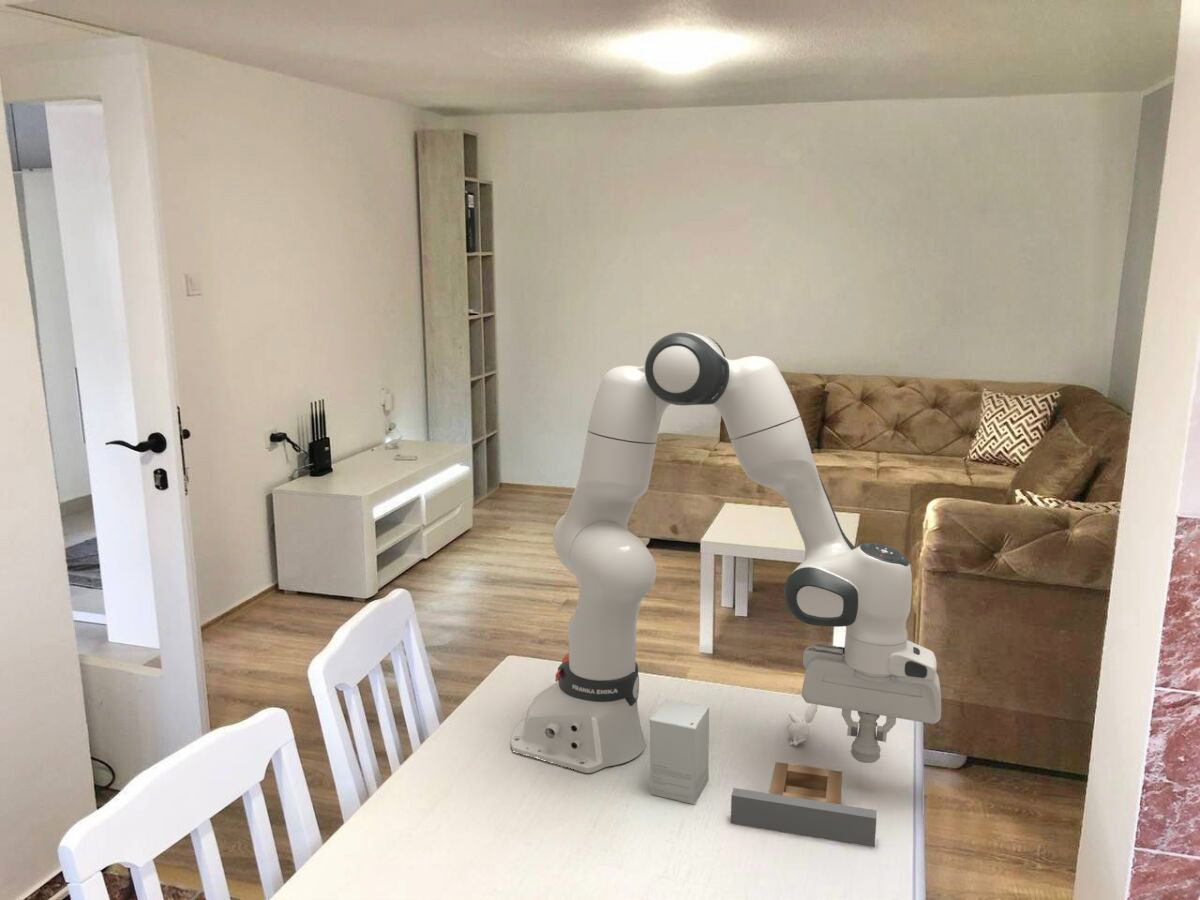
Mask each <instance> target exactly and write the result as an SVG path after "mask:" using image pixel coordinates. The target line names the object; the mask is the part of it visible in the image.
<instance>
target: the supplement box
mask: <svg viewBox="0 0 1200 900" xmlns="http://www.w3.org/2000/svg"><path fill="white" fill-rule="evenodd" d="M649 746H650V747H649V769H650V770H649V773H650V774H649V777H650V778H649V780H650V783H649V786H650V794H651V796H652V795H653V796H658V797H661V798H667V799H670V800H675V801H678V802H683V803H687V804H692V805H695V804H696V802H697V800H698V799H699V797H700V796H701V794H702V792H703V790H704V789H705V787H706V785H707V784H708V782H709V779H710V778H709V777H710V776H709V772H710V770H709V767H710V766H709V764H710V763H709V762H710V761H709V759H710V758H709V757H710V755H709V754H710V751H709V750H710V707H709V706H705V705H704V706H703V705H699V704H693V703H688V702H683V701H677V700H673V699H668V698H666V699H665V700H664V701H663V702H662V704H661V705H660V707H658V709H657V710H656V711H655V713H653V715H652V716H651V717H650V718H649Z"/></svg>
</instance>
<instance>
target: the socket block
mask: <svg viewBox="0 0 1200 900" xmlns="http://www.w3.org/2000/svg"><path fill="white" fill-rule="evenodd" d="M842 780H843V771H840V770H833V769H828V768H821V767H814V766H807V765H800V764H793V763H788V762H787V763H786V762H780V761H775V762H774V768H773V772H772V776H771V781H770V786H769V791H768V793H770V794H776V795H783V796H789V797H795V798H802V799H808V800H814V801H821V802H827V803H834V804H840V805H841V801H842V800H841V797H842V786H843V785H842V783H843V781H842Z"/></svg>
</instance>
